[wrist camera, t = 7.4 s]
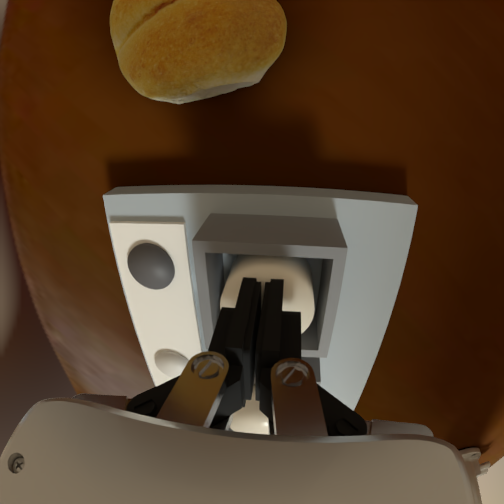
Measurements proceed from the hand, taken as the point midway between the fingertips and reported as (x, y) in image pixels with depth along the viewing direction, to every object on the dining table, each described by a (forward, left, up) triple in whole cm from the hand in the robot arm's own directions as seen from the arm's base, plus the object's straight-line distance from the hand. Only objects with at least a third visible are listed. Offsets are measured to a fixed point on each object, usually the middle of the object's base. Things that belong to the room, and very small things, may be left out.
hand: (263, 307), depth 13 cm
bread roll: (+3, -12, -5) cm, 14 cm away
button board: (+1, +8, -5) cm, 9 cm away
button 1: (0, 0, -3) cm, 3 cm away
